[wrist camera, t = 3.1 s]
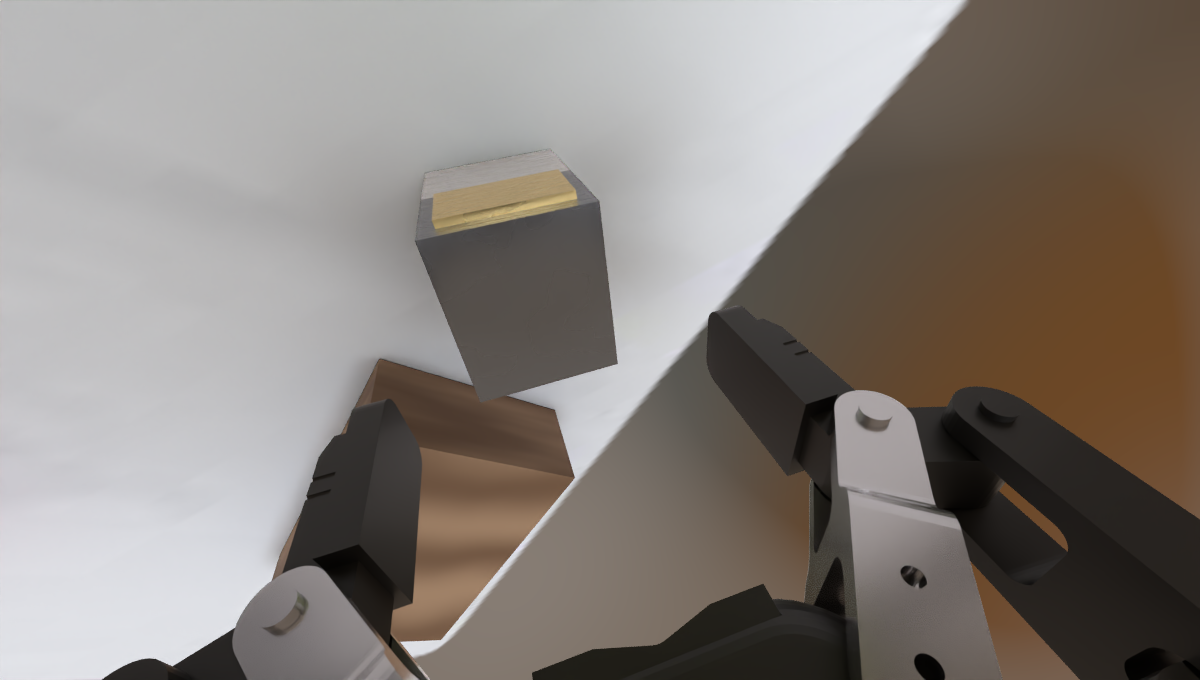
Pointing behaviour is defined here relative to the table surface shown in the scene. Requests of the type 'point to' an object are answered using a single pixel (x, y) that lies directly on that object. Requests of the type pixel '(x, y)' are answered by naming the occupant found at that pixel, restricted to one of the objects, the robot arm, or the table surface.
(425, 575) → the walnut stand
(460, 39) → the table surface
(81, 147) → the table surface
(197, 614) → the table surface
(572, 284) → the housing
